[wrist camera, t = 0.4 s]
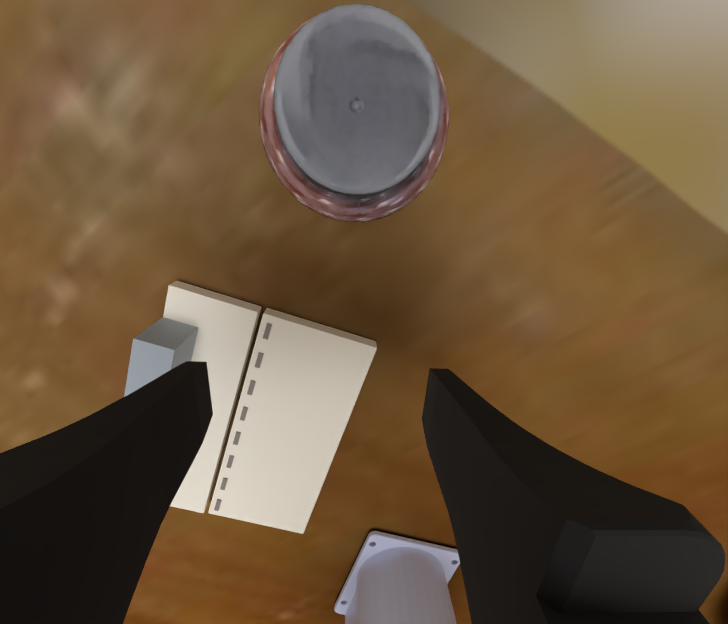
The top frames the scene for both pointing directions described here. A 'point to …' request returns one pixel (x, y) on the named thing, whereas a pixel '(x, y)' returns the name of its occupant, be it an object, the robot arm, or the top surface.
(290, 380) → the ticket
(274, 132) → the supplement bottle
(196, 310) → the stub
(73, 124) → the top surface
